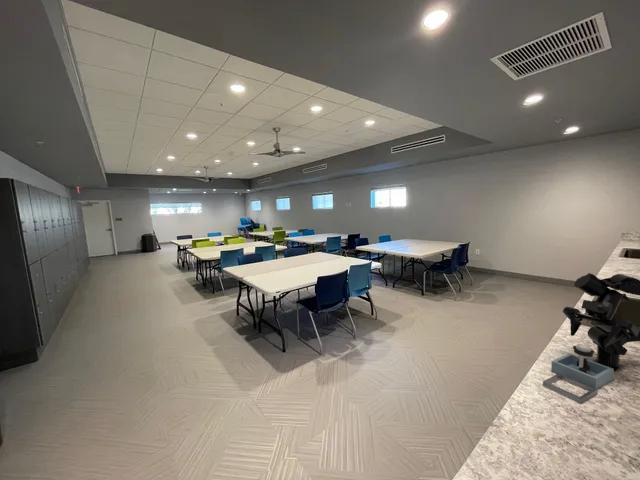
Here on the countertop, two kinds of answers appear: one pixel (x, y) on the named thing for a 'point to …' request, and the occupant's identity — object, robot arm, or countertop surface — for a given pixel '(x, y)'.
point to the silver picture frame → (578, 399)
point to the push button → (583, 357)
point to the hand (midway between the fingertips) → (587, 340)
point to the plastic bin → (595, 378)
